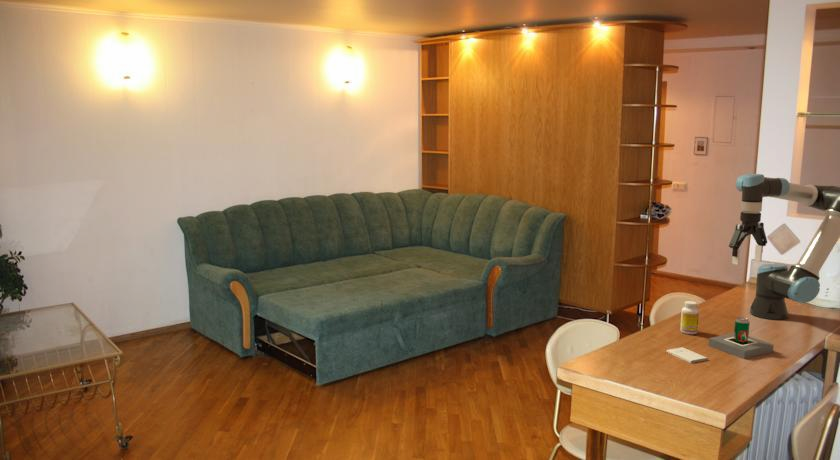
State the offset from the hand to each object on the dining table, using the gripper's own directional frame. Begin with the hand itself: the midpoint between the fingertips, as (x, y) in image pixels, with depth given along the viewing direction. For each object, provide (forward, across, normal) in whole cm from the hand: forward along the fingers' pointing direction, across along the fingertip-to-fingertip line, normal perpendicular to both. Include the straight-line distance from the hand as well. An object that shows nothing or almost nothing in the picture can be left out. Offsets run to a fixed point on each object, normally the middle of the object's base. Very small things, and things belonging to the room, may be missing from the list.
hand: (746, 262), depth 272 cm
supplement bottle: (+29, +23, -7) cm, 38 cm away
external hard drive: (+29, +45, +12) cm, 55 cm away
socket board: (+29, +21, +16) cm, 39 cm away
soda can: (+29, +21, +16) cm, 39 cm away
